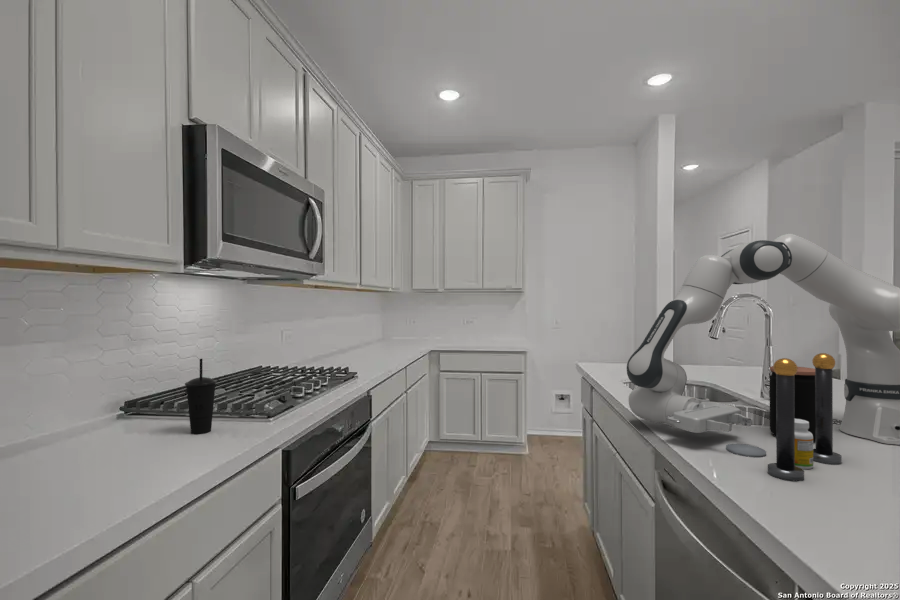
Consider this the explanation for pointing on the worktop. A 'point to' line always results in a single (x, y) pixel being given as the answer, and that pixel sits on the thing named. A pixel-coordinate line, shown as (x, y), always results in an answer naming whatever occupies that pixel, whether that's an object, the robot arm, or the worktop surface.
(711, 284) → the robot arm
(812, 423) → the coffee jar
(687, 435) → the worktop surface
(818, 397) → the post
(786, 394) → the post
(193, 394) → the drinking cup
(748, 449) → the slate mat
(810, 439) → the supplement bottle
